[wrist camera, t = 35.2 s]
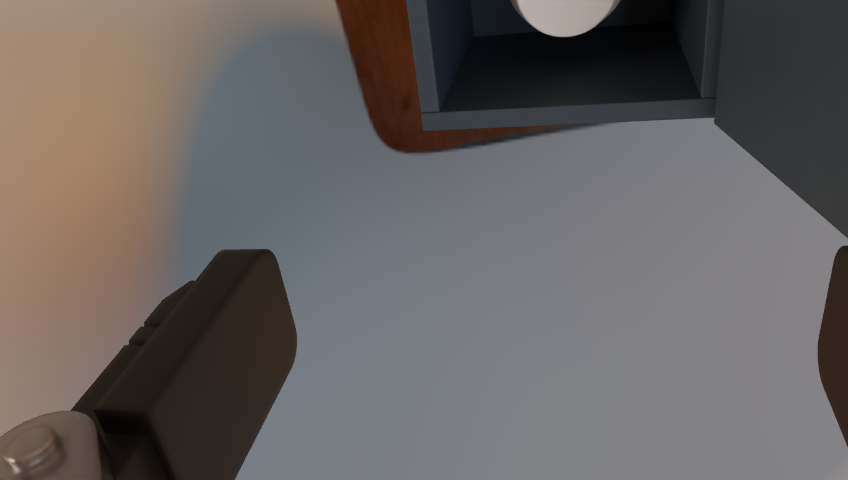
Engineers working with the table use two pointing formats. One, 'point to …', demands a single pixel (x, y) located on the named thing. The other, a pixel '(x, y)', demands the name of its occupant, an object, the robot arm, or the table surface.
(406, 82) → the table surface
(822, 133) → the lid
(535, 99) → the chest
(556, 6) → the pill bottle
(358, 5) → the table surface
